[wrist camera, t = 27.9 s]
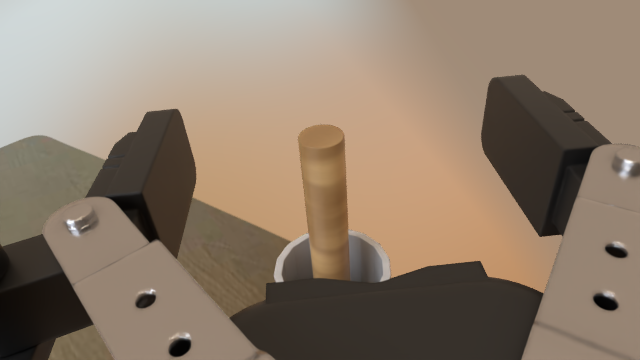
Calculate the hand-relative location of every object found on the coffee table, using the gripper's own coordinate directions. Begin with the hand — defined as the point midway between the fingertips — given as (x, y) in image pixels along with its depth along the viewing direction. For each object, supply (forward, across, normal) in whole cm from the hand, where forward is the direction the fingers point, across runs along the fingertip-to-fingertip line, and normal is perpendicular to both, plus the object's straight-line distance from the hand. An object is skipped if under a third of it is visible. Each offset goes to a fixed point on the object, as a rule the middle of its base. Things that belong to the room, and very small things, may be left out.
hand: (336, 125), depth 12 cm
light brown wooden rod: (+10, 0, +26) cm, 28 cm away
